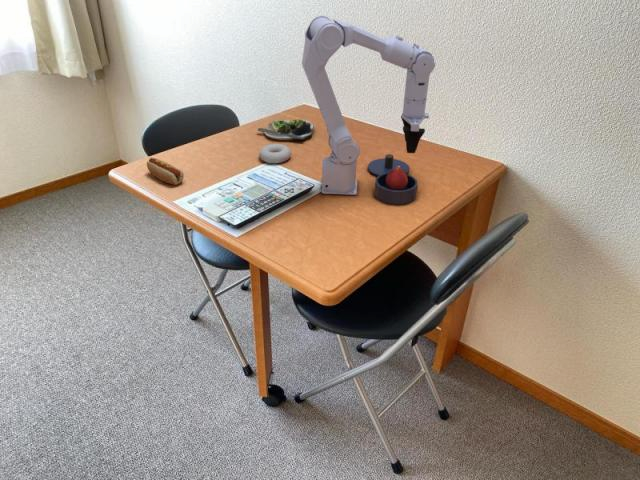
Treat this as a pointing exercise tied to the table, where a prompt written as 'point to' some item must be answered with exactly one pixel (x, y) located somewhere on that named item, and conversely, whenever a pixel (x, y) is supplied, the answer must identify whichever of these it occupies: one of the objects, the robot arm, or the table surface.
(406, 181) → the onion
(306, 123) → the salad plate
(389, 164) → the lid
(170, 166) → the food
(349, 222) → the table surface
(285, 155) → the donut
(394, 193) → the pot
